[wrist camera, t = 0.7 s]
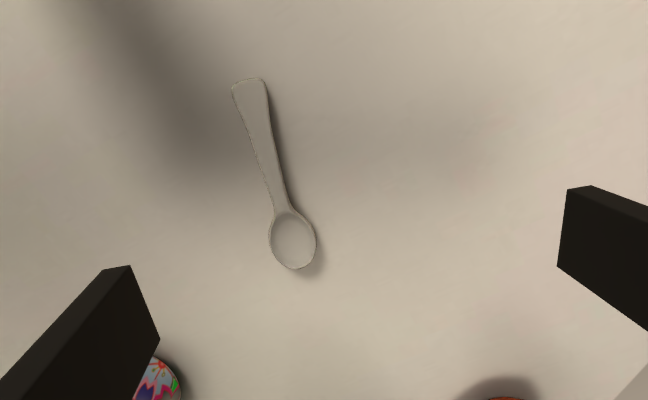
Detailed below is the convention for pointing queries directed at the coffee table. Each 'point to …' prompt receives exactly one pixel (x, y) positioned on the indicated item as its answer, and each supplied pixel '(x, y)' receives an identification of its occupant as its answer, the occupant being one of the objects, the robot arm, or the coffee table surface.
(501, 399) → the fruit
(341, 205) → the coffee table surface
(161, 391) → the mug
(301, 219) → the spoon
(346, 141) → the coffee table surface
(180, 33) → the coffee table surface
